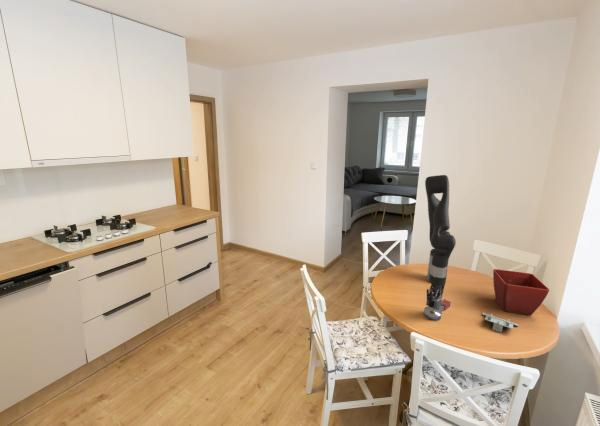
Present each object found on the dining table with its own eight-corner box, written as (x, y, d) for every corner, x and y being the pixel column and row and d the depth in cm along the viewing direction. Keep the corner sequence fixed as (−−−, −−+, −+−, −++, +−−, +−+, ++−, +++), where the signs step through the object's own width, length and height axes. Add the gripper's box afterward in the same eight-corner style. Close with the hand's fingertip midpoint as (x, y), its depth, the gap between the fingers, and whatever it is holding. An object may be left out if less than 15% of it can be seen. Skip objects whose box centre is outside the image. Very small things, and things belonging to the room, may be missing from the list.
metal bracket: (518, 326, 134) (480, 314, 143) (516, 339, 134) (478, 326, 143) (519, 320, 145) (483, 309, 154) (516, 332, 145) (481, 320, 154)
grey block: (431, 301, 152) (432, 291, 150) (440, 306, 148) (442, 295, 147) (425, 304, 149) (427, 294, 147) (435, 309, 145) (437, 298, 143)
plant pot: (526, 300, 166) (532, 273, 162) (542, 320, 148) (550, 290, 144) (487, 295, 171) (492, 268, 167) (499, 313, 153) (505, 284, 149)
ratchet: (439, 302, 163) (441, 292, 161) (454, 308, 157) (456, 298, 155) (420, 315, 150) (421, 304, 149) (435, 322, 145) (437, 311, 143)
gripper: (437, 267, 151) (433, 297, 156) (423, 274, 142) (418, 306, 147) (452, 272, 146) (447, 303, 150) (438, 280, 137) (433, 313, 141)
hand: (433, 304), depth 148 cm, fingers closed on grey block, 5 cm apart
